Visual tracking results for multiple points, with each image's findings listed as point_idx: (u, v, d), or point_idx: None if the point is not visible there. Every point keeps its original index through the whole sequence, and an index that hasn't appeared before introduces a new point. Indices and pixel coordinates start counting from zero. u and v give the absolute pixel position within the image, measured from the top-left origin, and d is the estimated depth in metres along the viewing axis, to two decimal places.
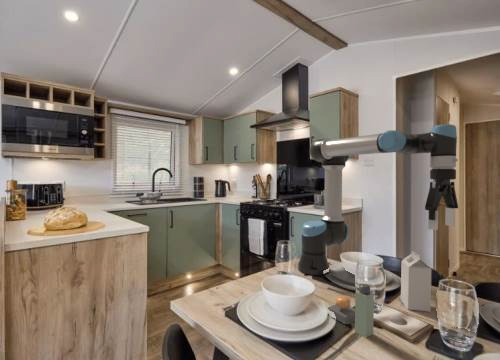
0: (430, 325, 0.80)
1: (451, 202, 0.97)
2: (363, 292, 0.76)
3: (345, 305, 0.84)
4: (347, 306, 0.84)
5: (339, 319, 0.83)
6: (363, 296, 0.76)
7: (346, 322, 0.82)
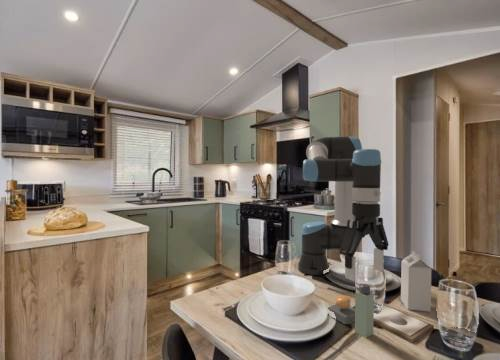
0: (430, 325, 0.80)
1: (379, 242, 0.80)
2: (363, 292, 0.76)
3: (345, 305, 0.84)
4: (347, 306, 0.84)
5: (339, 319, 0.83)
6: (363, 296, 0.76)
7: (346, 322, 0.82)
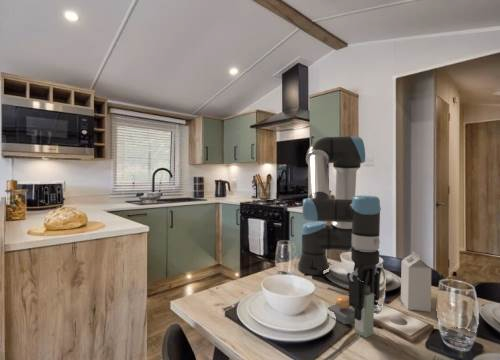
0: (430, 325, 0.80)
1: None
2: None
3: (345, 305, 0.84)
4: (347, 306, 0.84)
5: (339, 319, 0.83)
6: None
7: (346, 322, 0.82)
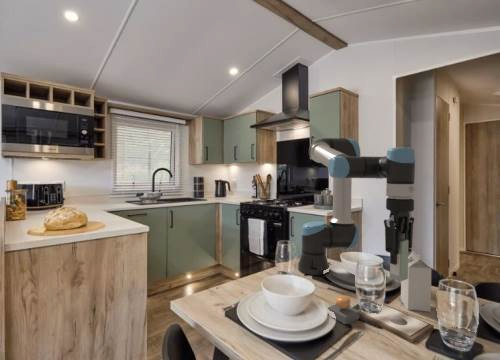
0: (430, 325, 0.80)
1: None
2: None
3: (345, 305, 0.84)
4: (347, 306, 0.84)
5: (339, 319, 0.83)
6: None
7: (346, 322, 0.82)
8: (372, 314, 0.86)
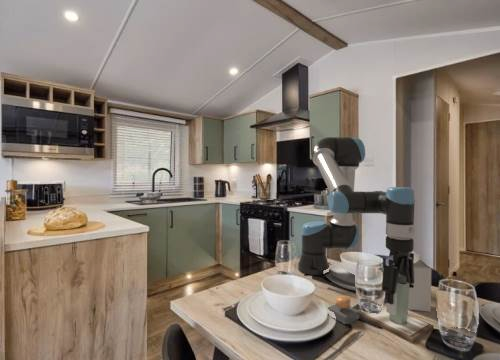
0: (430, 325, 0.80)
1: (406, 278, 0.83)
2: (399, 281, 0.81)
3: (345, 305, 0.84)
4: (347, 306, 0.84)
5: (339, 319, 0.83)
6: (400, 285, 0.80)
7: (346, 322, 0.82)
8: (372, 314, 0.86)
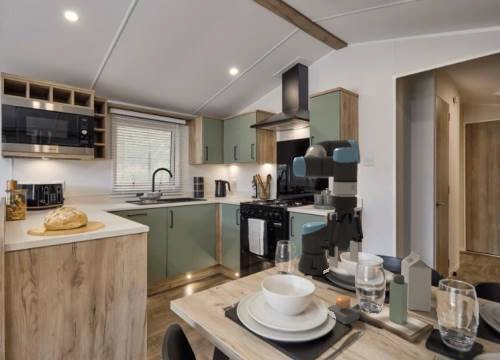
0: (430, 325, 0.80)
1: (354, 234, 0.88)
2: (398, 282, 0.81)
3: (345, 305, 0.84)
4: (347, 306, 0.84)
5: (339, 319, 0.83)
6: (398, 285, 0.80)
7: (346, 322, 0.82)
8: (372, 314, 0.86)
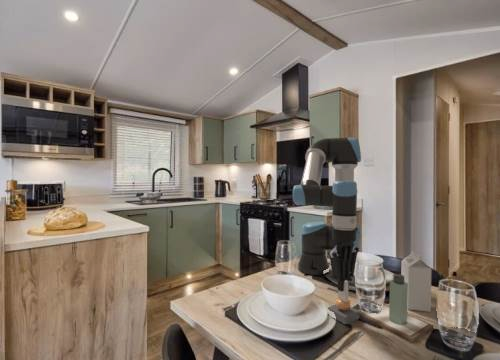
0: (430, 325, 0.80)
1: (347, 270, 0.86)
2: (398, 282, 0.81)
3: (345, 307, 0.84)
4: (347, 308, 0.84)
5: (339, 319, 0.83)
6: (398, 285, 0.80)
7: (346, 322, 0.82)
8: (372, 314, 0.86)
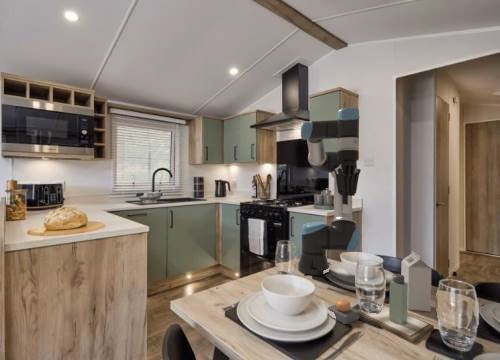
0: (430, 325, 0.80)
1: (350, 187, 0.99)
2: (398, 282, 0.81)
3: (345, 309, 0.84)
4: (347, 310, 0.84)
5: (339, 319, 0.83)
6: (398, 285, 0.80)
7: (346, 322, 0.82)
8: (372, 314, 0.86)
